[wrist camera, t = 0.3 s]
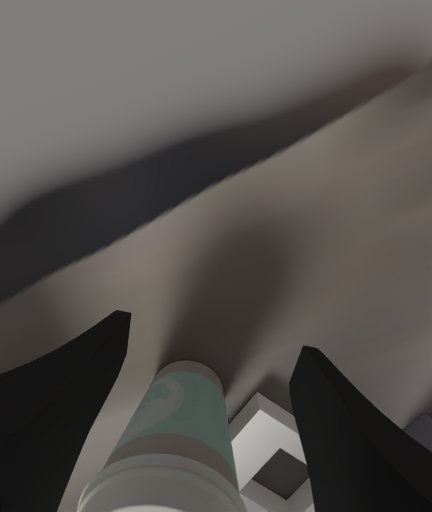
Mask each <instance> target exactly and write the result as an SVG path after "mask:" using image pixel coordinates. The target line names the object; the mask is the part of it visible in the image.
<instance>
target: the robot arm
mask: <svg viewBox="0 0 432 512" xmlns="http://www.w3.org/2000/svg"><path fill="white" fill-rule="evenodd" d="M130 321H131V313H129V312H124V311H119V310H116V311H114V312H113V313H111V314H110V315H109V316H107V317H106V318H104V319H103V320H102V321H100V322H99V323H97V324H96V325H94V326H93V327H92V328H90V329H89V330H87V331H86V332H84V333H83V334H81V335H80V336H78V337H76V338H75V339H73V340H71V341H70V342H68V343H66V344H65V345H63V346H61V347H60V348H58V349H56V350H54V351H52V352H50V353H48V354H46V355H44V356H42V357H40V358H38V359H36V360H34V361H32V362H30V363H27V364H25V365H22V366H20V367H17V368H15V369H13V370H10V371H8V372H5V373H3V374H0V512H57V510H58V507H59V504H60V502H61V499H62V497H63V494H64V492H65V489H66V487H67V484H68V482H69V479H70V477H71V474H72V472H73V469H74V466H75V464H76V462H77V459H78V457H79V454H80V452H81V449H82V447H83V445H84V442H85V440H86V438H87V435H88V433H89V431H90V429H91V427H92V425H93V423H94V421H95V419H96V417H97V416H98V414H99V412H100V410H101V408H102V406H103V404H104V402H105V400H106V398H107V397H108V395H109V393H110V391H111V389H112V387H113V385H114V383H115V381H116V379H117V377H118V375H119V373H120V370H121V367H122V365H123V362H124V359H125V357H126V354H127V347H128V338H129V329H130ZM289 387H290V396H291V403H292V409H293V413H294V417H295V421H296V425H297V429H298V433H299V437H300V441H301V445H302V448H303V452H304V456H305V460H306V464H307V468H308V473H309V478H310V484H311V490H312V496H313V503H314V509H315V512H432V452H431V451H430V450H428V449H427V448H426V447H424V446H423V445H421V444H420V443H419V442H417V441H416V440H415V439H413V438H412V437H411V436H409V435H408V434H407V433H406V432H404V431H403V430H402V429H401V428H399V427H398V426H397V425H396V424H395V423H393V422H392V421H391V420H390V419H389V418H387V417H386V416H385V415H384V414H383V413H382V412H380V411H379V410H378V409H377V408H376V407H375V406H374V405H373V404H372V403H371V402H370V401H369V400H368V399H366V398H365V397H364V396H363V395H362V394H361V393H360V392H359V391H358V390H357V389H356V388H355V387H354V386H353V385H352V384H351V383H350V382H349V381H348V379H347V378H346V377H345V376H344V375H343V374H342V373H341V372H340V371H339V370H338V369H337V368H336V367H335V366H334V365H333V364H332V362H331V361H330V360H329V359H328V358H327V357H326V356H325V355H324V354H323V353H322V352H321V351H320V350H319V349H318V348H314V347H308V346H303V347H302V350H301V353H300V355H299V358H298V361H297V363H296V366H295V369H294V372H293V374H292V377H291V380H290V382H289Z"/></svg>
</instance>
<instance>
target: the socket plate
mask: <svg viewBox="0 0 432 512" xmlns="http://www.w3.org/2000/svg"><path fill="white" fill-rule="evenodd" d="M229 431H230V437H231V443H232V449H233V456H234V462H235V468H236V474H237V480H238V487H239V494H240V496H241V498H242V499H243V501H244V504H245V506H246V509H247V512H315V509H314V503H313V496H312V490H311V484H310V478H308V479H307V480H306V481H305V482H304V483H303V484H302V485H301V486H300V487H299V488H298V489H297V490H296V491H295V492H294V493H293V494H292V495H291V496H290V497H289V498H288V499H287V500H285V499H284V498H282V497H280V496H279V495H277V494H275V493H274V492H272V491H271V490H269V489H267V488H266V487H264V486H262V485H261V484H259V483H258V482H256V481H254V480H253V479H251V478H252V477H253V476H254V475H255V474H256V473H257V472H258V471H259V470H260V469H261V468H262V467H263V465H264V464H265V463H266V462H267V461H268V460H269V459H270V458H271V457H272V456H273V455H274V454H275V453H276V451H277V450H278V449H279V448H281V449H283V450H284V451H286V452H287V453H289V454H291V455H292V456H294V457H295V458H297V459H298V460H300V461H302V462H303V463H305V464H306V460H305V456H304V452H303V448H302V445H301V441H300V437H299V433H298V429H297V425H296V421H295V417H294V416H293V415H292V414H290V413H289V412H287V411H286V410H284V409H283V408H281V407H280V406H278V405H277V404H275V403H273V402H272V401H270V400H269V399H267V398H266V397H264V396H263V395H261V394H260V393H258V392H257V393H256V394H255V395H254V396H253V397H252V398H251V399H250V401H249V402H248V403H247V404H246V405H245V406H244V408H243V409H242V410H241V411H240V412H239V413H238V415H237V416H236V417H235V418H234V419H233V420H232V422H231V423H230V424H229ZM306 465H307V464H306Z"/></svg>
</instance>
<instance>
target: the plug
mask: <svg viewBox="0 0 432 512" xmlns="http://www.w3.org/2000/svg"><path fill="white" fill-rule="evenodd" d="M404 432H406V433H407V434H408V435H409V436H411V437H412V438H413V439H415V440H416V441H417V442H419V443H420V444H421V445H423V446H424V447H426V448H427V449H428V450H430V451H431V452H432V418H431V417H430V416H428V415H427V414H425V413H423V414H422V415H421V416H420V417H419V418H418V419H417V420H416V421H415V422H414V423H412V424H411V425H410V426H409V427H408V428H407V429H406V430H405V431H404Z"/></svg>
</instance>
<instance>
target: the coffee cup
mask: <svg viewBox="0 0 432 512" xmlns="http://www.w3.org/2000/svg"><path fill="white" fill-rule="evenodd" d="M77 512H247V509H246V506H245V504H244V501H243V499H242V498H241V496H240V494H239V487H238V480H237V474H236V468H235V462H234V456H233V449H232V443H231V437H230V431H229V424H228V418H227V412H226V406H225V400H224V394H223V388H222V384H221V382H220V379H219V378H218V376H217V375H216V374H215V372H214V371H213V370H211V369H210V368H209V367H207V366H206V365H204V364H201V363H199V362H195V361H188V360H183V361H177V362H173V363H171V364H169V365H167V366H165V367H164V368H163V369H161V370H160V371H159V373H158V374H157V375H156V377H155V379H154V380H153V382H152V384H151V385H150V387H149V389H148V391H147V392H146V394H145V396H144V398H143V399H142V401H141V403H140V405H139V406H138V408H137V410H136V412H135V413H134V415H133V417H132V419H131V420H130V422H129V424H128V426H127V427H126V429H125V431H124V432H123V434H122V436H121V438H120V439H119V441H118V443H117V445H116V446H115V448H114V450H113V452H112V453H111V455H110V457H109V459H108V460H107V462H106V464H105V466H104V468H103V469H102V470H101V471H100V472H99V473H98V474H96V475H95V476H94V477H93V478H92V479H91V481H90V482H89V483H88V484H87V486H86V487H85V489H84V491H83V493H82V495H81V497H80V500H79V504H78V509H77Z"/></svg>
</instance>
